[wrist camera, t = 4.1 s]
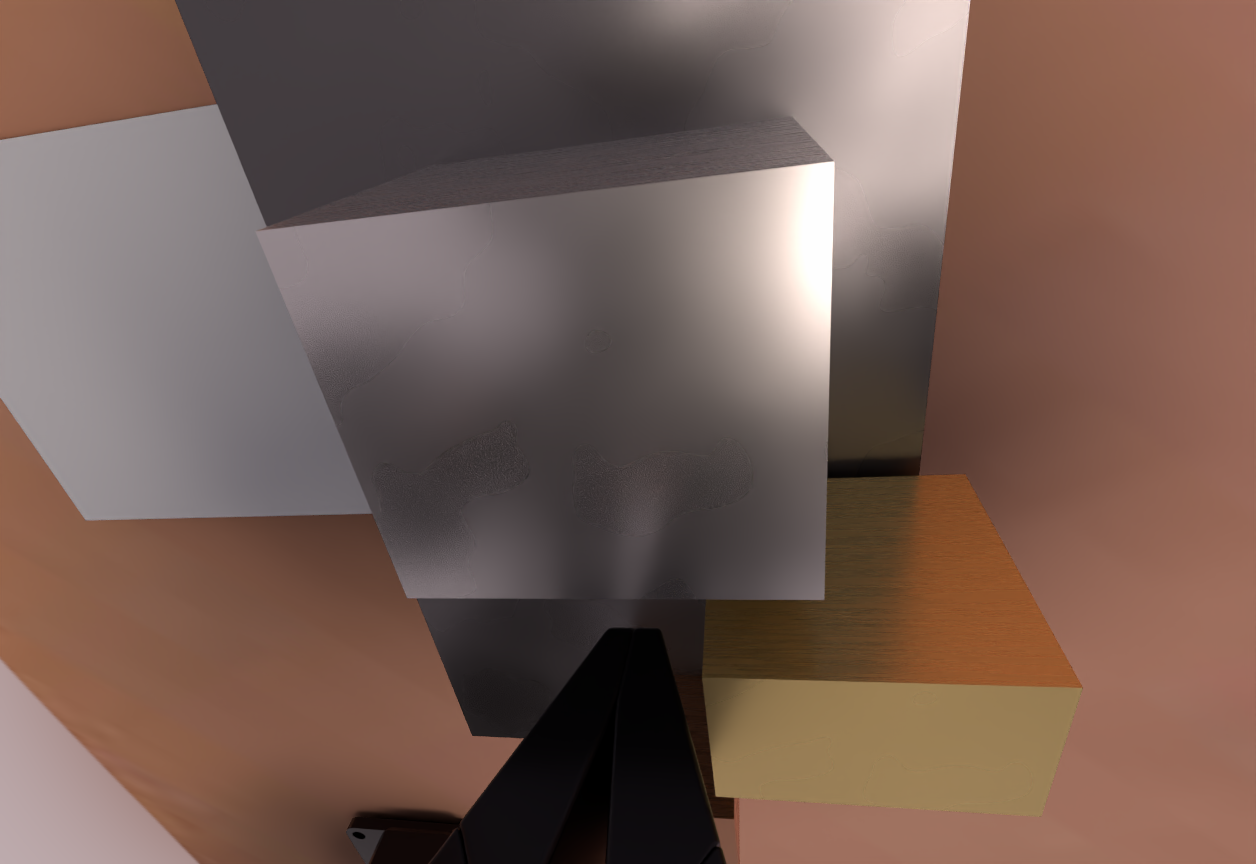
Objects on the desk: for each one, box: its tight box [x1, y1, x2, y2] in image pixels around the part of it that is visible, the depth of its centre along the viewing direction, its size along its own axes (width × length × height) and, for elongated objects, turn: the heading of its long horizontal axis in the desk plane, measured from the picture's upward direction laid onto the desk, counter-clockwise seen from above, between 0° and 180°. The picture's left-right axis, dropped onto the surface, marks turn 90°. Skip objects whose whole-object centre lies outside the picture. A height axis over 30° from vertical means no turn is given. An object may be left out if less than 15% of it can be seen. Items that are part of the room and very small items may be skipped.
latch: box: [702, 474, 1083, 817], centre depth 9 cm, size 2×4×4 cm, turn 98°
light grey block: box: [255, 117, 834, 600], centre depth 8 cm, size 4×5×4 cm
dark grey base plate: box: [175, 0, 970, 864], centre depth 11 cm, size 18×10×6 cm, turn 8°
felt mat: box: [0, 104, 372, 520], centre depth 14 cm, size 9×9×1 cm
